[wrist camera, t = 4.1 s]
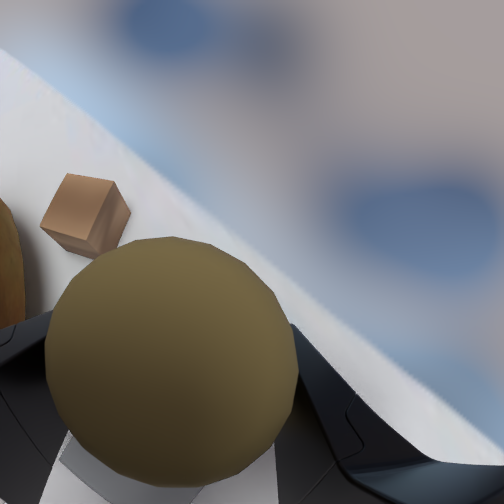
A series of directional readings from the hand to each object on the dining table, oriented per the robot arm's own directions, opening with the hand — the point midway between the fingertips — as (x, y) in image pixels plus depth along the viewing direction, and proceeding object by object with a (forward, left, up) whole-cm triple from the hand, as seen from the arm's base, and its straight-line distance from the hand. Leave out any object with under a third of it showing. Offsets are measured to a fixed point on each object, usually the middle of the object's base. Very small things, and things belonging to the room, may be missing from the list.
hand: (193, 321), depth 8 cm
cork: (-1, -1, -7) cm, 7 cm away
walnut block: (+1, +11, -9) cm, 14 cm away
